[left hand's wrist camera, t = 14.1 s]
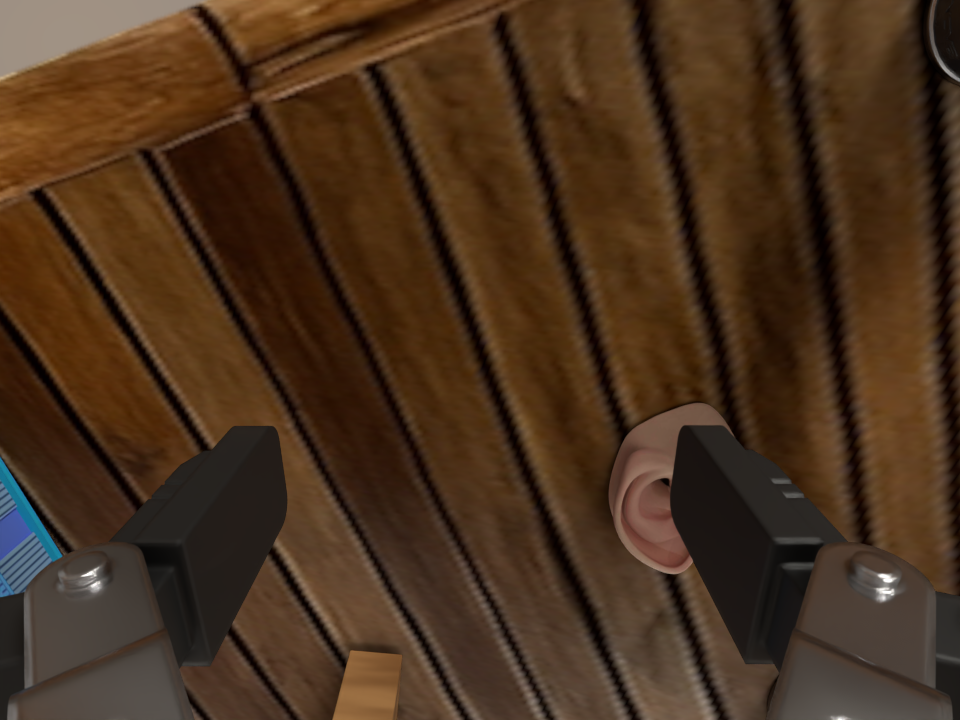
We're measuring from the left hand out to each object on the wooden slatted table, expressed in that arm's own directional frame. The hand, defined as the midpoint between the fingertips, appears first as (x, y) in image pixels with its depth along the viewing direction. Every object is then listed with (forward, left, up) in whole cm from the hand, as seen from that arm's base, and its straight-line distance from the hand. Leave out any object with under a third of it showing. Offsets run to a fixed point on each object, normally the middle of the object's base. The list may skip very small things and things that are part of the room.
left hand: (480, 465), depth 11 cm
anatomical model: (-10, +24, -32) cm, 41 cm away
